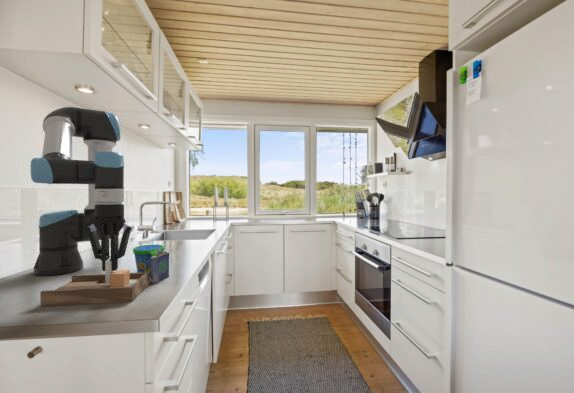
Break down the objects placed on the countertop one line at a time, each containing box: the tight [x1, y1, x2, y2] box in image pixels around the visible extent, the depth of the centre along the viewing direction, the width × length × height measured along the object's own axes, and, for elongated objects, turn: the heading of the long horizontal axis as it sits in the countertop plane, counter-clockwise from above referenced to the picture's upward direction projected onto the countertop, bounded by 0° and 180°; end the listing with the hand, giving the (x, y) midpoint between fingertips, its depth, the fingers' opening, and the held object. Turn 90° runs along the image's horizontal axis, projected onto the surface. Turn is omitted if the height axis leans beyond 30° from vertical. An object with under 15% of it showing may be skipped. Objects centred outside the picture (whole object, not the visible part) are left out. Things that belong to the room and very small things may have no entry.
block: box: [110, 269, 131, 287], centre depth 85 cm, size 4×4×4 cm
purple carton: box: [150, 249, 170, 285], centre depth 99 cm, size 9×3×11 cm, turn 172°
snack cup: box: [132, 244, 165, 277], centre depth 105 cm, size 16×10×10 cm
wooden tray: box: [39, 272, 151, 308], centre depth 85 cm, size 15×23×4 cm, turn 99°
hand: (110, 281), depth 85 cm, fingers closed
